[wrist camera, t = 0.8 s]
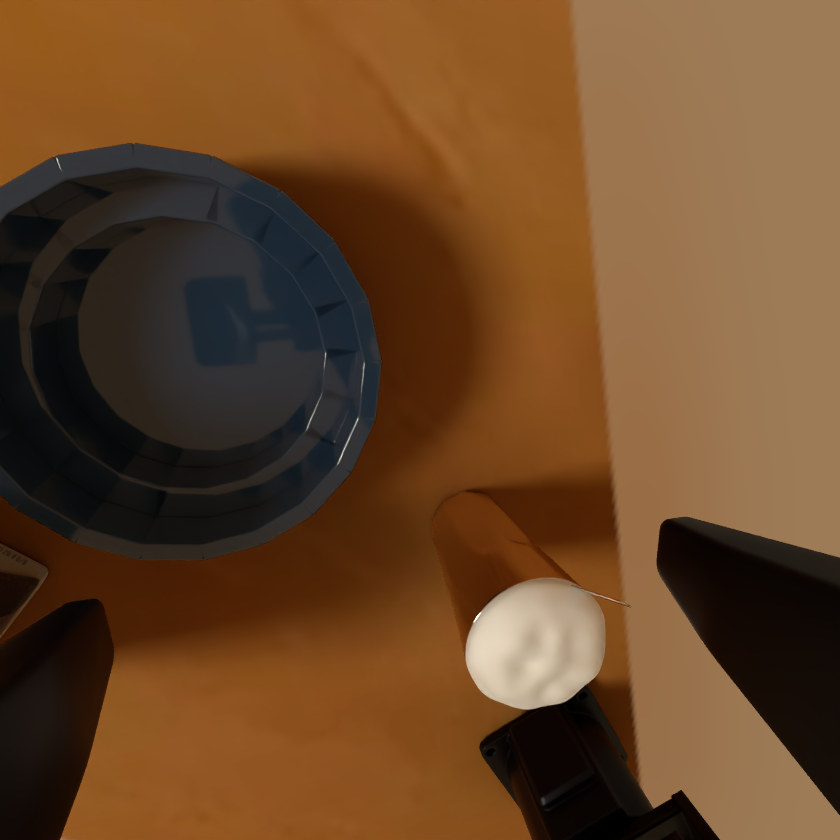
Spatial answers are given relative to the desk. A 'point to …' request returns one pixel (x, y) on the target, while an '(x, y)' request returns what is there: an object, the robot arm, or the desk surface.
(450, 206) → the desk surface
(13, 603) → the coffee box
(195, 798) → the desk surface
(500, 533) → the milkshake
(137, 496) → the bowl
